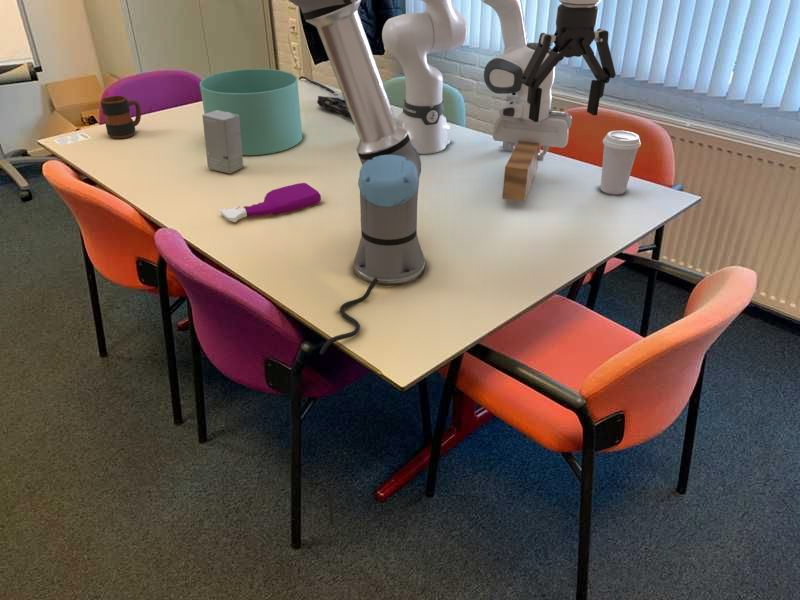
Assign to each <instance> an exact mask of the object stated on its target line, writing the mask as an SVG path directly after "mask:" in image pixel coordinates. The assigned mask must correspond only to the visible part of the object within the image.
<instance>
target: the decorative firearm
mask: <svg viewBox="0 0 800 600" xmlns="http://www.w3.org/2000/svg"><path fill="white" fill-rule="evenodd" d="M316 102H317V104H318V106H319V107H321V108H324V109H325V110H328V111H330V112H332V113H338V114H340V115H343V116H345V117H347V118H349V119H352V118H351V115H350V112H349V110H348V107H347V105H346V102H345V100H344V97H343V94H342V92H339V91H338V92H335V93H330V94H328V95H325V96H324V95H317V100H316Z"/></svg>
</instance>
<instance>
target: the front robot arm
mask: <svg viewBox="0 0 800 600" xmlns="http://www.w3.org/2000/svg"><path fill="white" fill-rule="evenodd" d="M288 1H289V2H290V3H292V4H293V5H295V6H296V7H298V8H300V10H301V13H302V15H303V17H304V20H305V22H306V23H308V24H310V25H312V26H314V27H315V28H316V30H317V32H318V36H319V37H320V40H321V42H322V46H323V47H324V50H325V53H326V55H327V58H328V61H329V63H330V66H331V68H332V71H333V74H334V77H335V78H336V82H337V84H338V86H339V89H340V91H341V92H340V93H342V94H343V97H344V100H345V102H346V105H347V107H348V110H349V112H350V115H351V118H350V119H351V120H352V123H353V125H354V128H355V131H356V133H357V135H358V136H357V137H358V138H359V142H358V144H357V145H356V150H355V151H356V152H357V155H358V157H359V160H360V163H361V167H360V170H359V176H358V188H359V189H358V190H359V202H360V203H359V205H360V207H359V208H360V239H359V242H358V247H357V249H356V252H355V256H354V259H353V270H354V273H355V275H356V276H357V277H358V278H359V279H360V280H362V281H364V282H366V283H369V285H368V287H367V289H366V291H365V293H364V294H363V295H362V296H361V297H358V298H356V299H353V300H349V301H346V302H344V303H342V304H341V306H340V307H339V313H340V315H341V316H342V317H343V318H344V319H345V320H347V321H349V322H350V323H351V324H353V325H354V326H355V328H354V330H352V331H349V332H346V333H342V334H341V333H340V334H338V335H335V336H332V337H331V338H329V339H328V340H327V341H326V342H324V343H323V345H322V346H321V349H320V351H319V355H324V354H325V353H326V351H327V350H328V348H329V346H331V345H332V344H333V343H336V342H338V341H341V340H344V339H349V338H352V337H355V336H356V335H358V334H359V332H360V330H361V324H360V323H359V321H357V319H355V318H354V317H353V316H351V315H349V314H347V313H346V312H345V309H346V308H348V307H351V306H354V305H357V304H360V303H362V302H364V301H366V299H368V297H369V296H370V294H371V292H372V290H373V289H374V287H375V285H376V286H382V287H395V286H402V285H406V284H410V283H413V282H415V281H417V280H418V279H420V278H421V276H423V274H424V273H425V270H426V260H425V255H424V252H423V250H422V247H421V244H420V241H419V238H418V198H419V197H418V196H419V187H420V177H421V173H422V162H421V157H420V154H419V153H418V152H417V150H416V149H415V147H414V146H413V145H412V144H411V141H410V138H409V135H408V132H407V130H406V129H404V128H402V127H399V126H398V125H397V122H396V120H395V119H396V117H395V114H394V112H393V111H394V110H393V108H392V106H391V101H390V100H389V97H388V94H387V91H386V88H385V85H384V83H383V80H382V77H381V74H380V72H379V69H378V65H377V62H376V59H375V57H374V54H373V51H372V48H371V45H370V42H369V40H368V37H367V34H366V32H365V29H364V25H363V22H362V20H361V17H360V14H359V12H358V11H359V7H360V4H361V2H362V0H288ZM558 1H559V3H561V4H559V5H558V6H557V10H556V18H555V20H556V21H555V32H554V33H553V34H549V33H546V32H541V33H540V35H539V38H538V42H537V43H538V46H537V48H536V50H535V51H534V53H533V55H532V57H531V59H530V61H529V63H528V65H527V67H526V69H525V71H524V73H523V75H522V77H521V79H520V82H521V83H522V84H524V85H526V86H528V98H527V102H528V103H529V104H530V110H529V119H531V120H532V121H534V122H538V120H539V111H540V103H541V94H542V89H541V88H539V86H540V85H541V83H542V82H543V81H544V80H545V78H546V77H547V76H548V75H549V73H550V72H551V71H552V70H553V68H554V67H555V68H556V67H557V65H558V63H559V62H561V61H562V60H564V59H565V58H567V59H569V58H572V57H576V58H580V57H582V58H583V60H584V61H585V63H586V64H587V66H588V68H589V70H591V73H592V74H593V76H594V78H595V79H592V80H591V82H590V89H589V97H588V101H587V108H586V113H588V114H589V115H592V116H598V111H599V105H600V100H601V98H603V96H604V93H605V87H606V84H608V83H610V80H611V79H615V77H616V75H617V74H616V70H615V69H616V68H615V66H614V62H613V61H614V60H613V57H612V53H611V49H610V46H609V31H608V30H605V29H602V28H597V29H596V30H595V27H596V26H597V21H598V16H599V6H598V4H599V3H600V2H601V0H558ZM593 42H595V45H596V50H597V53H598V56H599V57H598V58H599V60H598V58H597V57H596V55H595V52H594V50H593V48H592V46H591V44H592V43H593ZM553 44H554V45H553ZM551 46H553V47H552V48H551ZM549 47H550V48H551V49H552V50H551V51H550V53H549V56H548V57H547V58H546V60H545V61H544V62H543V60H544V58H545V56H546V54H547V52H548V50H549ZM599 61H600V62H599ZM542 62H543V63H542ZM541 64H542V65H541ZM327 503H328V504H327V505H328V514H329V515H328V516H329V525H330V526H334V524H335V516H334V515H335V514H334V507H333V506H334V505H333V504H334V503H333V495H332V494H329V495H327Z"/></svg>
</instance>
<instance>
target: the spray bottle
mask: <svg viewBox="0 0 800 600" xmlns="http://www.w3.org/2000/svg"><path fill="white" fill-rule="evenodd" d="M321 201H322V197H321V194H320V192H319V191H318V190H317V189H315V188H314V187H312V186H311V185H310V184H308V183H307V182H300V183H299V182H298V183H293V184H291V185H286V186H282V187H278V188H275V189H272V190H270V191H269V192H267V193H266V194H265V195H264V199H263V201H262V202H258V203H257V204H255V203H254V204H252V205H245V206H243V208H240V205H237V206H235V207H233V208H222V207H221V208H219V212H220V214H221V215H222V216H223V217H224V218H225V219H226V220H227V221H230V222H232V223H235V224H236V222H237V221H238V220H240V219H243V218H247V217H248V218H249V217H259V216H260V217H261V216H270V215H272V216H278V215H282V214H288V213H292V212H296V211H299V210H302V209H306V208H308V207H312V206H315V205H318V204H320V202H321Z"/></svg>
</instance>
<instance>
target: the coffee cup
mask: <svg viewBox="0 0 800 600" xmlns="http://www.w3.org/2000/svg"><path fill="white" fill-rule="evenodd" d="M641 142H642V141H641V139H640V136H639V135H638V134H637V133H635V132H633V131H628V130H611V131H608V132H607V133H606V135H605V136H604V138H603V139H602V144H603V152H602V165H601V176H600V188H599V189H600V191H601V192H603V193H605V194H608V195H622V194H625V192H626V189H627V186H628V182H629V181H630V180H629V179H630V177H631V173H632V170H633V166H634V163H635V160H636V156H637V154H638V150H639V148H641V147H642V143H641Z"/></svg>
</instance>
